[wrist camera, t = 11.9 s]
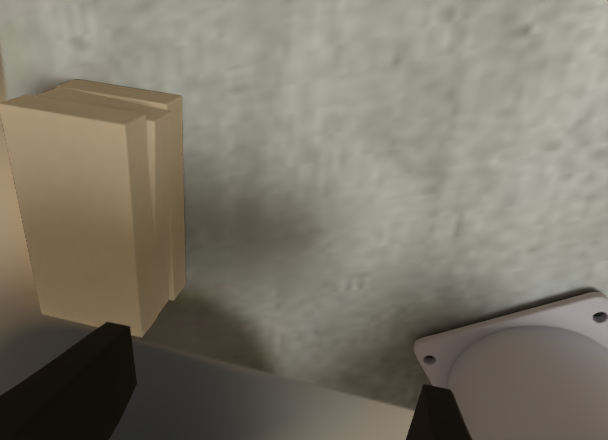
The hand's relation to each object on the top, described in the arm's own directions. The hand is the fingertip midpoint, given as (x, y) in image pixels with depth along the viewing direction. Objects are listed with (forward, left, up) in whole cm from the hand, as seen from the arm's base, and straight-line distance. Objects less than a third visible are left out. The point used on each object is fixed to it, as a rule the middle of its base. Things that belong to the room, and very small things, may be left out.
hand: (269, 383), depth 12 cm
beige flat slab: (+5, +8, -7) cm, 11 cm away
